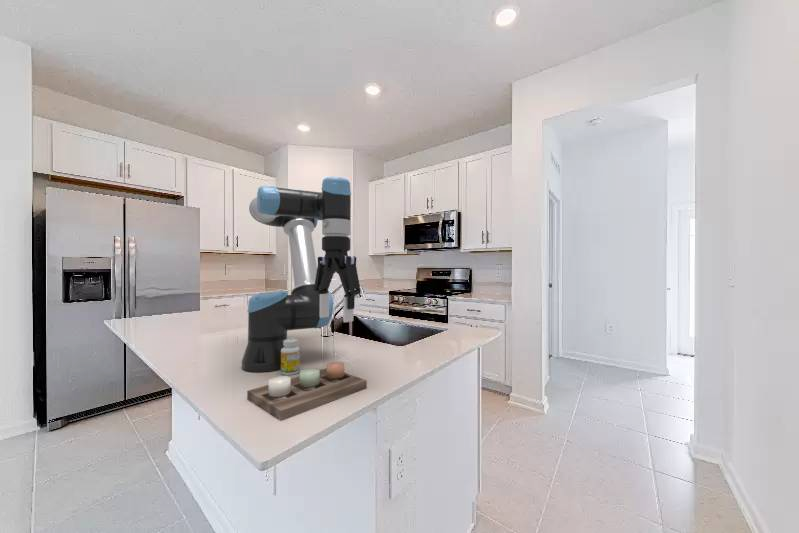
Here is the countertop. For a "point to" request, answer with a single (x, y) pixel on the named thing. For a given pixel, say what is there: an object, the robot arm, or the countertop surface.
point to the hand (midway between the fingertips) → (335, 319)
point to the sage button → (309, 377)
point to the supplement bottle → (290, 357)
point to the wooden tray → (306, 395)
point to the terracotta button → (335, 369)
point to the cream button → (279, 386)
